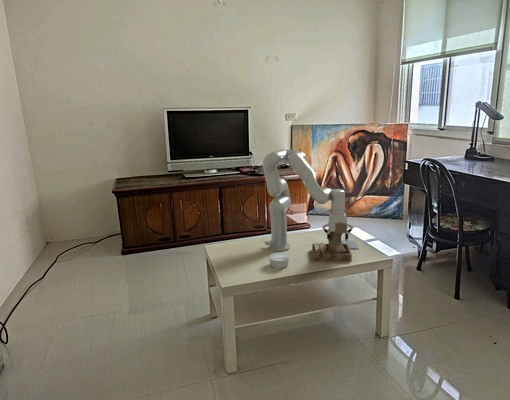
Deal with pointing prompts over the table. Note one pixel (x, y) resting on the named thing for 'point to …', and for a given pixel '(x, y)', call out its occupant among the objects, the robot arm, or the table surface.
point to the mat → (351, 244)
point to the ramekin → (279, 260)
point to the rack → (332, 255)
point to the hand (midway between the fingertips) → (337, 240)
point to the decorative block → (337, 240)
